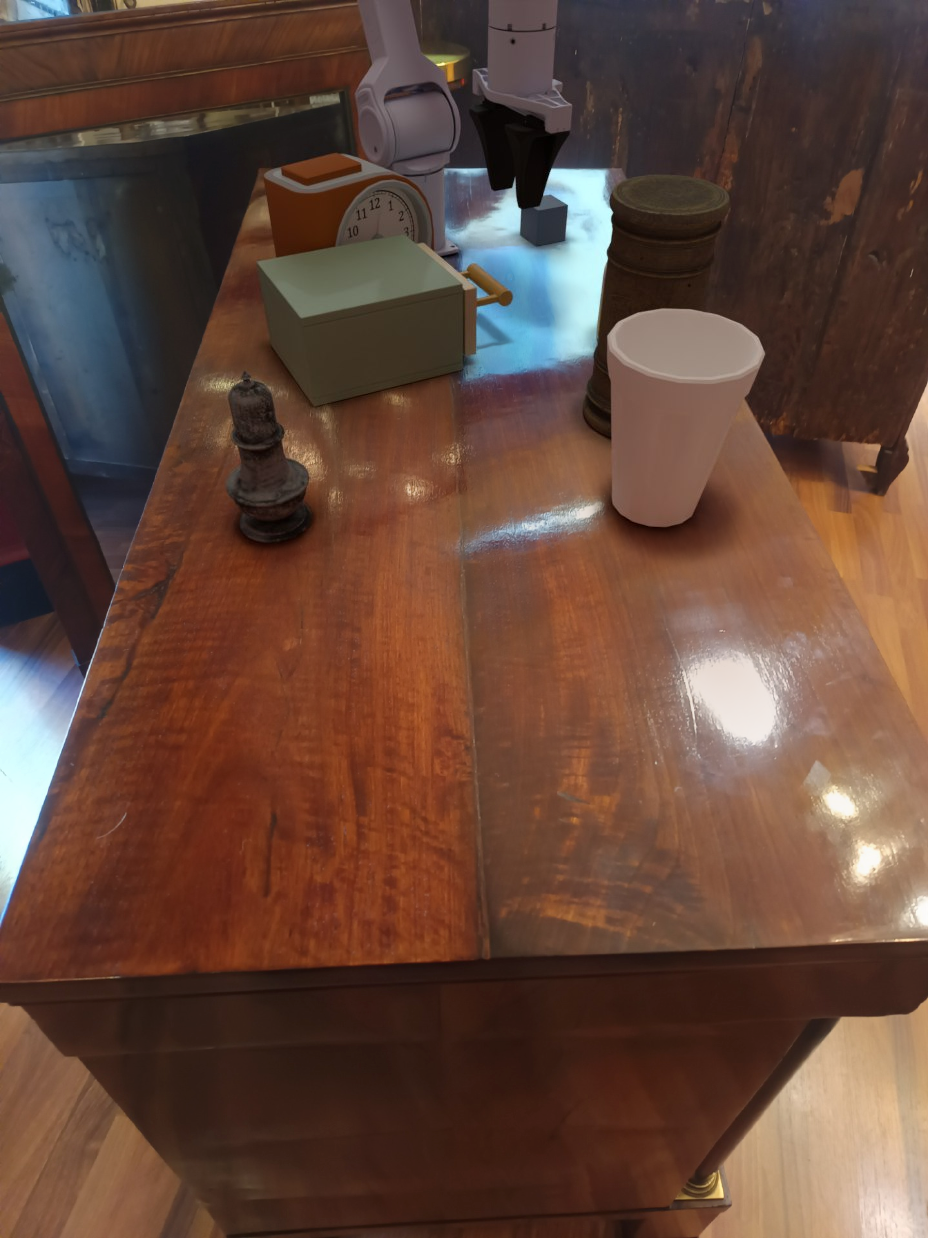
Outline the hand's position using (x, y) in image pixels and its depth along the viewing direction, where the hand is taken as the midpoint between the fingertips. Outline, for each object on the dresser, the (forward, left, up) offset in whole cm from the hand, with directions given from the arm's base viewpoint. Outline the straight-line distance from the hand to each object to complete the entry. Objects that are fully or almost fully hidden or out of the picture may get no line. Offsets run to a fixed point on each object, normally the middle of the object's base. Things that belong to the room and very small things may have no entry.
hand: (515, 197), depth 79 cm
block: (-14, +12, -10) cm, 21 cm away
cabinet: (+4, -18, -10) cm, 21 cm away
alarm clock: (-8, -14, -11) cm, 19 cm away
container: (+24, -1, -11) cm, 26 cm away
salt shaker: (+24, -33, -11) cm, 42 cm away
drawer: (+4, -13, -10) cm, 17 cm away
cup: (+35, -7, -11) cm, 37 cm away
